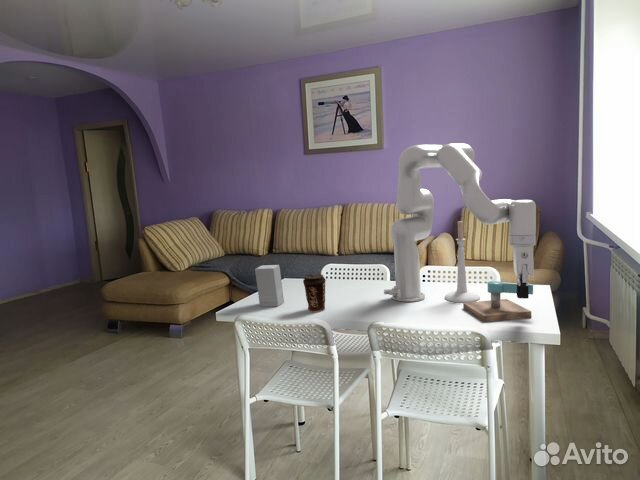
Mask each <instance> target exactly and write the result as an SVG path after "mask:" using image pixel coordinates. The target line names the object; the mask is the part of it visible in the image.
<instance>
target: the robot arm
mask: <svg viewBox="0 0 640 480" xmlns="http://www.w3.org/2000/svg"><path fill="white" fill-rule="evenodd" d="M475 157H476V154H475V151H474V149H473V148H472V146H471V145H469V144H467V143H460V142H459V143H458V142H457V143H456V142H455V143H447V144H415V145H414V144H413V145H411V146H408V147H407V148H406V149H404V150H403V151H402V152H401V154H400V156H399V159H398V183H397V194H396V196H397V197H396V209H397V211H398V212H399V213H400V214H401V215H406V216H408V217H402V218H398V219H397V220H395V221H393V223H392V225H391V228H390V237H391V240H392V244H393V256H394V258H393V259H394V273H395V274H394V277H395V279H394V280H395V285H394V286H393V287H392V288H390V289H387V288H386V289H384V290H383V294H384V295H389V296H391V298H392V299H393V300H395V301H398V302H404V303H405V302H407V303H409V302H410V303H411V302H417V301H423V300H424V299H425V297H426V294H425V293H423V292H421V271H420V270H421V269H420V268H421V266H420V252H419V248H418V245H417V243H416V241H420V240H425V239H427V238H428V237H429V236H430V234H431V233H432V229H433V221H434V212H435V211H434V210H435V200H434V196H433V194H432V192H431V191H429V190H428V189H426V188H422V175H421V172H420V170H421V169H433V168H434V169H436V168H437V169H438V168H439V169H442V168H443V170H444V171H446V173H447V174H448V175H449V176H450V177H451V179H452V180H453V181H454V182H455V183H456V184H457V186H459V188H460V191H461V192H460V193H461V196H462V200H463V203H464V205H465V206H466V208H467V209H468V210H469V211H470V213H471V214H472V215H473V216H474V217H475V218H476V220H478V222H480V223H482V224H484V225H487V226H491V225H498V224H502V223H508V235H509V236H508V238H509V239H508V244H509V246H512V247H513V248H512V249H513V250H512V251H513V252H512V255H513V257H512V258H513V261H512V262H513V271H514V274H515V277H516V278H517V279H516V280H517V281H516V283H517V284H518V285H517V293H516V298H518V299H529V295H530V294H529V286H528V284H529V277H530V278H531V279H533V278H535V264H534V249H533V246H536V245H537V243H536V242H537V240H536V239H537V238H536V237H537V235H536V233H537V232H536V230H537V227H536V225H537V223H536V217H537V215H536V211H537V210H536V207H537V206H536V202H535V201H534V200H532V199H517V200H515V199H507V198H502V199H493V200H491V199H490V198H489V197H488V196H487V195H486V193H484V191H483V190H482V188H481V186H480V181H481V180H482V178H483V172H482V170H481V169H480V168H479V167H478V165H477V164H476V163H474V161H475ZM409 215H412V216H409Z"/></svg>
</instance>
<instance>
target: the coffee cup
mask: <svg viewBox="0 0 640 480" xmlns="http://www.w3.org/2000/svg"><path fill="white" fill-rule="evenodd" d="M326 281H327V280H326V278H325V277H324V274H321V273H320V274H319V273H315V274H307V275H306V276H304V278H303V282H302V283H303V286H304V291H305V298H306V301H307V310H308V312H310V313H321V312H323V311H325V308H326V307H325V306H326Z"/></svg>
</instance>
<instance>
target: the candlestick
mask: <svg viewBox="0 0 640 480" xmlns="http://www.w3.org/2000/svg"><path fill="white" fill-rule="evenodd" d="M455 240H456V241H457V242H456V243H457V245H458V249H457V279H456V280H457V282H456V283H457V285H456V290H454V291H450V292H447V294H445V296H444V299H445V301H448V302H451V303H459V304H460V303H461V304H463V303H468V302H479V301H480V299H481V297H480V295H479V294H478V293H476V292H474V291H470V290H468V286H467V275H466V273H467V272H466V262H465V261H466V260H465V259H466V258H465V248H464V245H465V241H466V238H464V221H462V220H459V221H457V238H455Z"/></svg>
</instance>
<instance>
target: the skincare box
mask: <svg viewBox="0 0 640 480" xmlns="http://www.w3.org/2000/svg"><path fill="white" fill-rule="evenodd" d="M280 266H281V265H280V264H269V265H266V264H265V265H260V266H257V267H256V268H255V269H254V274H255V278H256V286H257V287H256V288H257V294H258V301H259V307H279V306H281V305H282V304H283V303H284V302H285V298H284V291H283V290H284V289H283V283H282V276H281V268H280Z"/></svg>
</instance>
